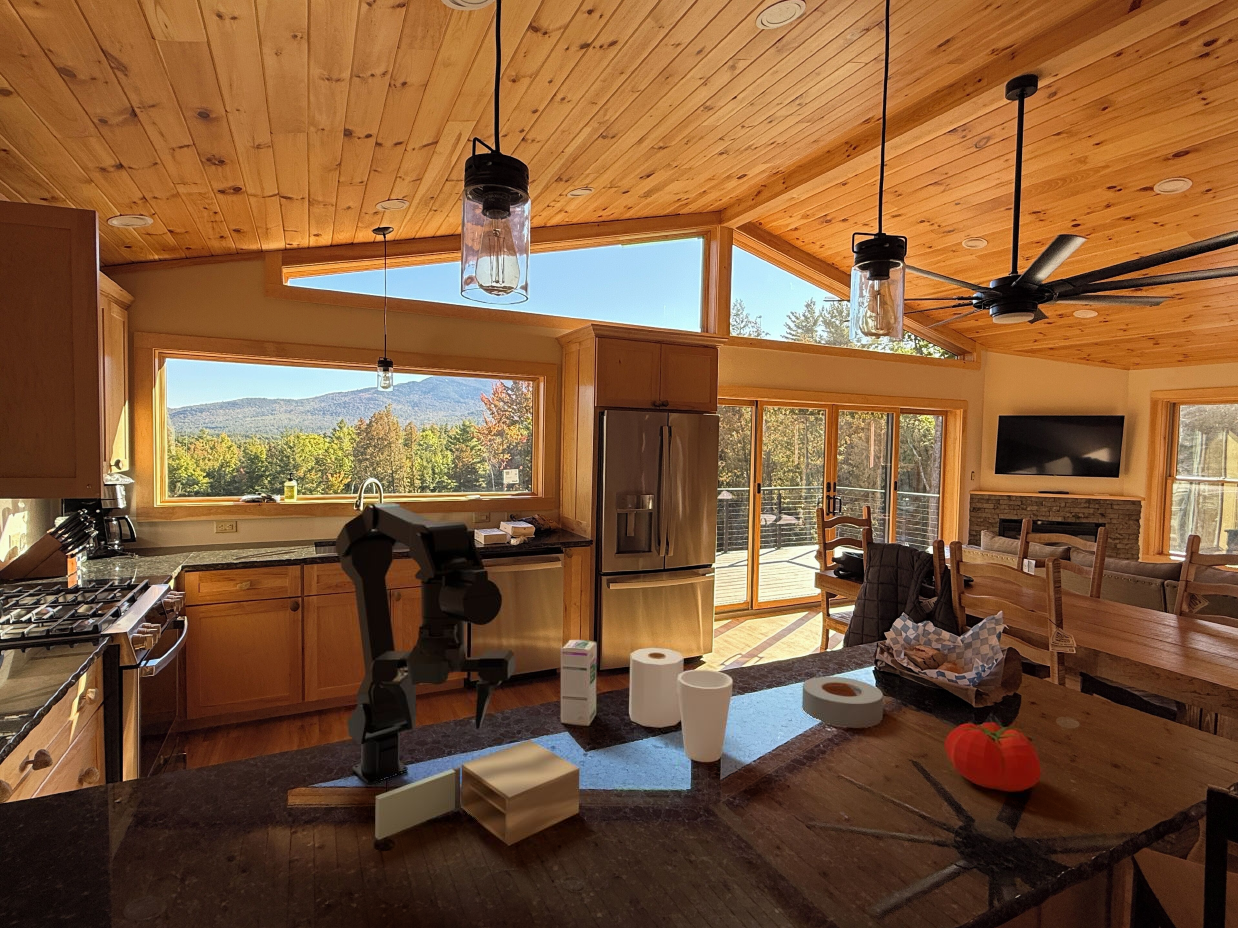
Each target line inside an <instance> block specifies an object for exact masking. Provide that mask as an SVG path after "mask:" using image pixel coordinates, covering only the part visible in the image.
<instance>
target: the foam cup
mask: <svg viewBox="0 0 1238 928" xmlns="http://www.w3.org/2000/svg"><path fill="white" fill-rule="evenodd" d="M677 693H678V694H679V703H680V713H681V720H680V722H681V732H682V739H683V740H682V742H683V750H684V755H685V756H686V757H687V758H689V759H691V760H693V761H697V762H701V763H711V762H715V761H718V760H719V759H721V758H720V757H722V753H723V750H724V749H723V747H724V742H725V736H726V729H727V724H728V717H729V710H730V705H731V704H730V703H731V698H732V697H733V678H732V677H731V676H729V675H728V674H726V673H724V672H721V671H717V670H710V669H690V670H689V669H688V670H685V671H684V670H683V672H682V673H681V674H679V675H678V682H677Z"/></svg>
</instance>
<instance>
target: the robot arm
mask: <svg viewBox="0 0 1238 928" xmlns="http://www.w3.org/2000/svg"><path fill="white" fill-rule="evenodd" d="M398 543H400V544H402V545H404V546H406V547H408V556H409V557H410V558H411V559H412V560H413V561H415V563H417V565H418V567H419V568H420V569H419V570H417V572H416V573H415V575H414V578H415V579H416V580H419V581H420V595H421V597H420V598H421V599H420V603H421V608H420V609H421V625H419V626H418V632H417V633H418V636H417V640H416V644H415V645H413V647H412V650H396V648H395V641H394V633H393V625H392V617H391V610H390V602H389V596H388V595H389V593H388V589H387V588H388V587H387V580H386V579H387V578H386V576H387V574H388V573H389V570H390V568H391V566H392V563H393V561H394V549H395V548H396V546H397V544H398ZM335 551H336V553H337V556H338V557H339V562H340V565H341V570H342V571H343V572H344V573H345V574H346V575H347V576H348V578H349V579H350V580H351V581H352V582H353V585H354V590H355V591H354V592H355V599H356V600H355V601H356V607H357V609H356V610H357V616H358V624H359V630H360V641H361V647H362V648H361V649H362V657H363V664H364V671H365V673H364V677H363V679H362V682H361V684H360V686H359V688H358V691H357V692H356V702H357V703H356V704H357V706H356V707H355V709H354V710H353V712H352V714H351V715H350V717H349V718H348V720H347V730H348V731H347V732H348V735H349V737H350V738H351V739H353V740H354V741H355V742H356V743H358V744H359V745H360V746H361V749H360V752H361V753H360V755H361V756H360V758H361V759H360V760H361V761H360V763H359V764H355V765H353V766H352V771H354V773H356V775H358V777H360V778H361V779H362V780H363V781H366V782H365V783H366V784H368V783H372V784H374V783H373V782H375V781H378V782H380V781H379V780H381V779H384V778H386V777H390V776H392V777H394V776H393V775H395V774H398V775H401V774H402V773H401V772H404V773H406V772H405V771H407V770H408V771H409V768H408V766H407V765H405V764H404V763H403V762H402V761H400V733H403V732H406V731H412V730H414V728H415V727H416V722H417V721H416V720H417V719H416V717H417V705H418V704H417V700H416V696H417V695H416V686H419V685H421V684H424V685H425V684H433V685H435V686H437V685H442V684H444V683H446V682H447V681H448V679H449V674H453V673H477V676H478V677H479V678H480V679H479V680H478V681H477V682H476V683H475V687H476V691H477V695H476V696H477V697H476V709H475V710H476V711H475V728H476V730H480V729H481V728H482V724H483V720H484V718H485V715H486V712H487V708H488V705H489V702H490V699H491V696H492V693H493V691H494V689H495V687H498V686H500V684H501V683H502V682H503V681H507V680H509V679H510V677H512V674H513V672H514V671H515V670H516V656H515V655H516V654H515V653H514V652H513V651H512V649H486V650H485V652H484V653H483V654H481V656H480V657H478V656H477V657H474V656H473V657H466V655H467V653H468V647H467V645H466V631H465V630H466V625H467V623H469V624H472V625H475V626H485V625H487V624H490V623H491V622H493V621H494V620H495V618H497V616H498V614H499V613H500V612H501V608H502V601H503V597H502V594H501V592H500V589H499V587H498V586H497V584H496V583H495V582H493V581H492V580H490V579H489V571H488V570H487V569H485V565H484V563H483V559H484V558H483V556H482V555H481V553H480V552H479V550H478V547H477V546H476V543H475V541H474V539H473V536H472V534H471V532H470V530H469V528H468V527H467V525H466V524H465V523H464V522H462V521H456V520H431V519H429V518H426V517H424V516H422V515H420V514H417V513H415V512H413V511H410V510H408V509H406V508H403V507H402V506H401V505H400V504H398V503H396V502H384V503H370V504H369V505H366V506H365V507H364V508H363V511H362V513H360V514H358V515H357V516H355V517H354V518H352V519H351V520H349V521H348V522H346V523H345V524H344V525H343V527H342V528H341V530H340V532H339V533H338V535H337V538H336V540H335ZM408 771H407V772H408ZM400 773H401V774H400ZM395 776H396V775H395ZM390 778H391V777H390ZM384 780H385V779H384ZM381 781H382V780H381ZM375 783H376V782H375Z"/></svg>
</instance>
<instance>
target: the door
mask: <svg viewBox="0 0 1238 928" xmlns="http://www.w3.org/2000/svg"><path fill="white" fill-rule="evenodd" d="M459 808H461V767H460V766H454V767H453V768H451V769H448V770H445V771H442V772H440V773H437V774H434V775H432V776H428V777H426V778H422V779H420V780H417V781H415V782H412V783H409V784H406V785H404V786H401V787H398V788H395V789H391V790H389V791H387V792H384V793H381V794H379V795H378V794H377V795H376V796H375V814H374V815H375V817H374V818H375V820H374V821H375V824H374V825H375V827H374V828H375V830H374V831H375V832H374V833H375V834H374V836H375V838H376V839H377V840H379V841H380V840H383V839H384V838H387V837H389V836H391V835H393V834H396V833H399V832H402V831H405V830H406V829H409V828H412V827H414V826H416V825H418V824H421V823H424V822H426V821H428V820H431V819H433V818H436V817H439V816H441V815H444V814H446V813H449V812H450V811H454V810H457V809H459Z"/></svg>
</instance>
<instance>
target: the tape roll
mask: <svg viewBox="0 0 1238 928" xmlns="http://www.w3.org/2000/svg"><path fill="white" fill-rule="evenodd" d="M801 699H802V701H801V703H802V704H801V709H802V708H803V710H804V711H805V712H806V713H807V714H809V715H810V716H812V717H813V718H816V719H819V720H821V721H823V722H826V723H830V724H834V725H840V726H846V727H864V726H872V725H874V724H877V723H879V722H880V721H881V720H882V721H883V719H882V718H884V717H883V715H884V714H883V712H884V711H883V710H884V709H883V708H884V694H883V692H882V691H881V689H880V688H878V687H876V686H875V685H872V684H870V683H867V682H865V681H862V680H857V679H853V678H848V677H842V676H841V677H840V676H820V677H812V678H809V679H807V680H805V681H804V682H803V683H802V698H801ZM803 710H802V711H803Z"/></svg>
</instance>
